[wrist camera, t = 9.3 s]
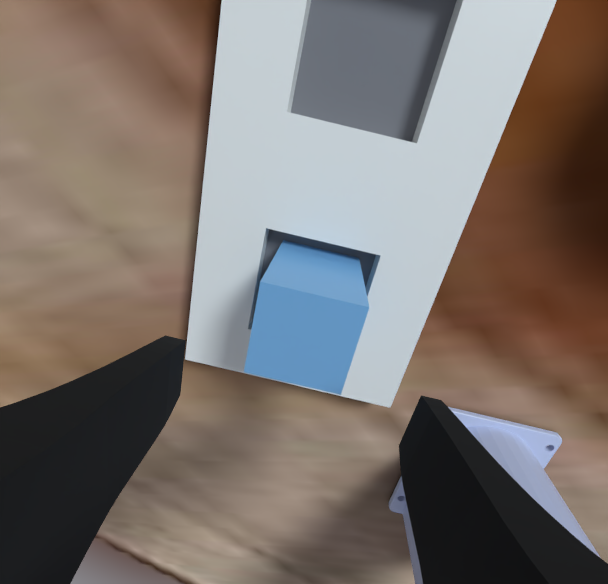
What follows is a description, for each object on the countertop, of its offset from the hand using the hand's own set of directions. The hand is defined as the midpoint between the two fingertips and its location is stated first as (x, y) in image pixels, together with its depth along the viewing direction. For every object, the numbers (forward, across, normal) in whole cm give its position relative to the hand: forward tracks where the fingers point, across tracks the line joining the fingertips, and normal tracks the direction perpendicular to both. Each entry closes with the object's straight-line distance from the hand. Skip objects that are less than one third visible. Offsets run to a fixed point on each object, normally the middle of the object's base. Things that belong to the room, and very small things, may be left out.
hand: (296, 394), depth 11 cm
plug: (+9, 0, 0) cm, 9 cm away
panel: (+9, 0, -5) cm, 11 cm away
